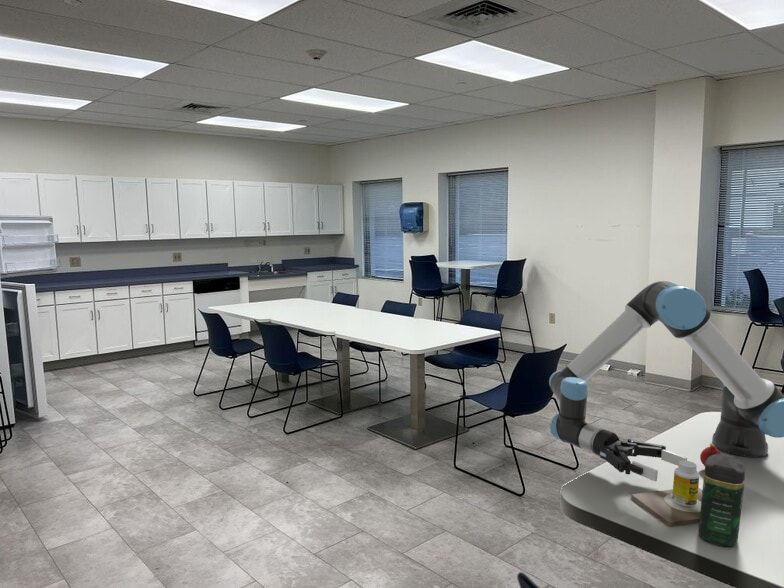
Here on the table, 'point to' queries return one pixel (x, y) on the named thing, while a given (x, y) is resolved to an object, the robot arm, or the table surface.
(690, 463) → the supplement bottle
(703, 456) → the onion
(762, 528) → the table surface
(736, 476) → the coffee jar
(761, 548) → the table surface
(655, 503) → the brown flat board
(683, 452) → the table surface
